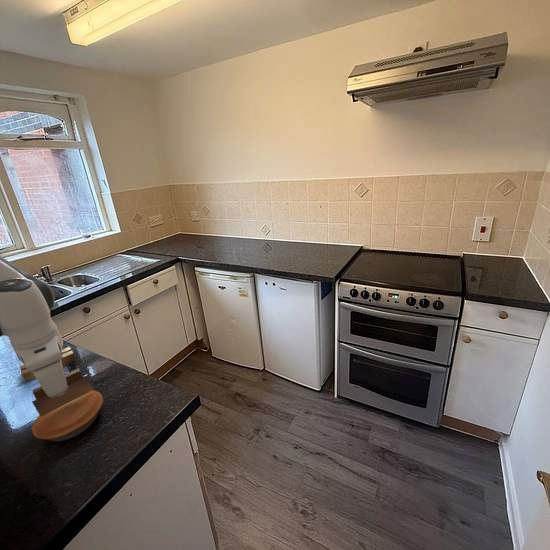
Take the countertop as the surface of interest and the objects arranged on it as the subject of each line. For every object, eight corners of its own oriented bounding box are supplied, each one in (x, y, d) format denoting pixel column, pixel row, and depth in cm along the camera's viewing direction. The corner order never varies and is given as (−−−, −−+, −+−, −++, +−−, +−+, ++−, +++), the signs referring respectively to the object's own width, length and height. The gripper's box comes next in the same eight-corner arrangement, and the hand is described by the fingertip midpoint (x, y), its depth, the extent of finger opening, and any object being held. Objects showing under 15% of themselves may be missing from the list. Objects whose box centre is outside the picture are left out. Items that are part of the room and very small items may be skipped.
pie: (23, 441, 73) (14, 426, 72) (80, 395, 87) (74, 382, 85) (65, 457, 68) (57, 441, 66) (119, 405, 81) (114, 391, 79)
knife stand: (27, 386, 93) (21, 374, 92) (25, 377, 98) (20, 366, 96) (77, 364, 102) (73, 353, 100) (74, 357, 106) (69, 346, 105)
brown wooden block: (41, 418, 73) (27, 395, 70) (40, 415, 74) (27, 392, 71) (94, 390, 80) (84, 368, 77) (93, 387, 81) (82, 366, 78)
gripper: (19, 335, 76) (40, 378, 81) (26, 369, 61) (51, 420, 66) (49, 324, 80) (67, 367, 85) (61, 355, 65) (83, 404, 70)
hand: (60, 390), depth 75 cm, fingers closed on brown wooden block, 2 cm apart
